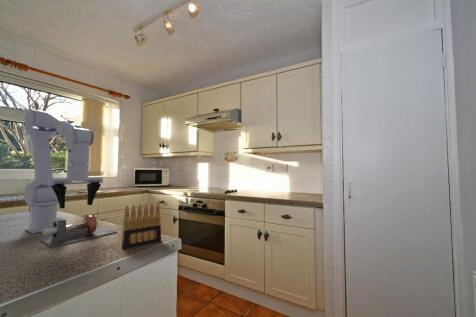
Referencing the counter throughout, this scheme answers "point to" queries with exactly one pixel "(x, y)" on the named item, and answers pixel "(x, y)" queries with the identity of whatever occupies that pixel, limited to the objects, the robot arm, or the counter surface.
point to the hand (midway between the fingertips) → (76, 206)
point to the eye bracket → (72, 234)
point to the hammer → (77, 226)
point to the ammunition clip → (135, 229)
